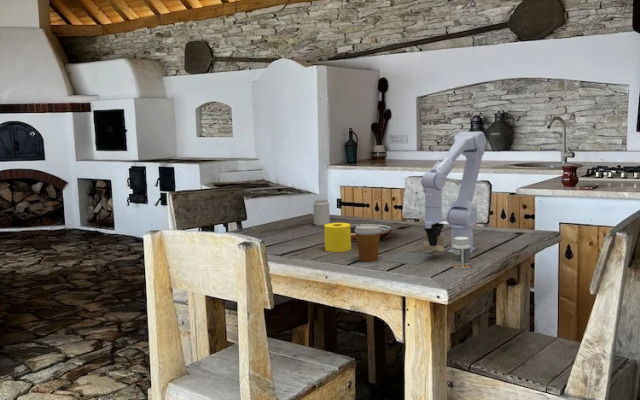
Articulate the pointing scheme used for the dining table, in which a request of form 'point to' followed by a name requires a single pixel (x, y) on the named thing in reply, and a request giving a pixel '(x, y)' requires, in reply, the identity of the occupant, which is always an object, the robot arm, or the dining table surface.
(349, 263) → the dining table surface
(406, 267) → the dining table surface
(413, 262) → the mat
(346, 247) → the yellow toilet paper roll
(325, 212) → the can
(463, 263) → the pill bottle
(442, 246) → the wooden block
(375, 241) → the disposable coffee cup
